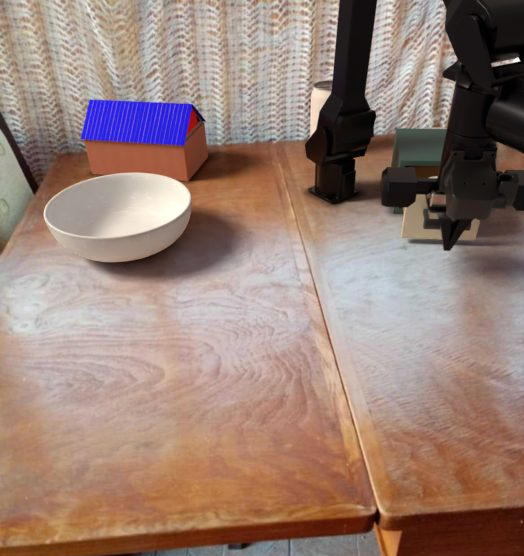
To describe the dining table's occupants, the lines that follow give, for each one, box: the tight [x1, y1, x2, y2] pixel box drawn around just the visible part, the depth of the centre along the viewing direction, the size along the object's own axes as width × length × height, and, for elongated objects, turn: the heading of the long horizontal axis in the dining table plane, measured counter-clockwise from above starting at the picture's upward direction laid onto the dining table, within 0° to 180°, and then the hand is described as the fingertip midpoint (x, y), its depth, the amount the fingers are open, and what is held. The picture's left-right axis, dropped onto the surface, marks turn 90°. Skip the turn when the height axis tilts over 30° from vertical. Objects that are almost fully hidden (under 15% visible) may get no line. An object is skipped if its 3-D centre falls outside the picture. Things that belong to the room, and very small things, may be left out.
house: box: [80, 98, 209, 182], centre depth 100 cm, size 12×20×12 cm, turn 76°
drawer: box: [400, 166, 481, 241], centre depth 78 cm, size 17×10×7 cm, turn 172°
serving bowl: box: [43, 173, 193, 263], centre depth 80 cm, size 21×21×7 cm
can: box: [309, 80, 333, 138], centre depth 103 cm, size 6×6×12 cm
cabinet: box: [390, 127, 446, 214], centre depth 87 cm, size 14×12×9 cm
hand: (446, 249), depth 71 cm, fingers closed
